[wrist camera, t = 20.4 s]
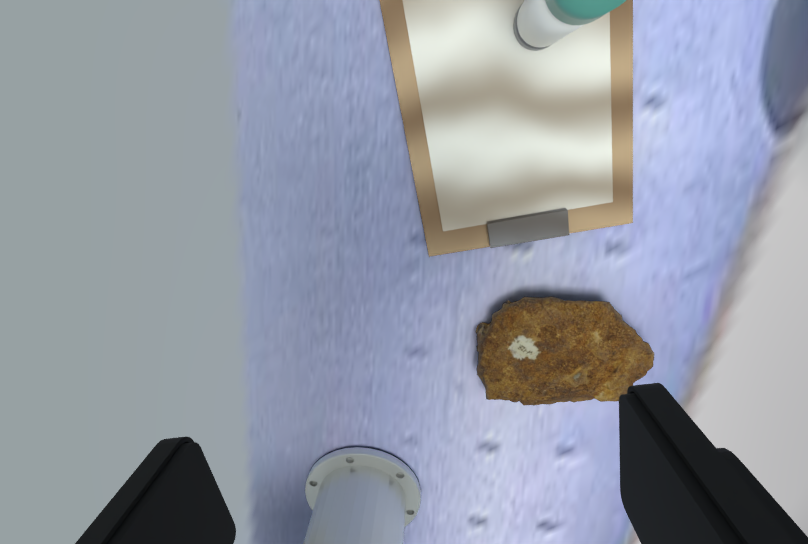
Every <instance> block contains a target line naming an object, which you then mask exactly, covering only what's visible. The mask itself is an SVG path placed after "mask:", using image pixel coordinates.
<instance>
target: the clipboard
mask: <svg viewBox="0 0 808 544" xmlns="http://www.w3.org/2000/svg"><path fill="white" fill-rule="evenodd" d="M523 2H524V0H380V5H381V10H382V16H383V21H384V26H385V31H386V36H387V42H388V47H389V52H390V57H391V62H392V67H393V73H394V78H395V83H396V88H397V93H398V98H399V104H400V109H401V114H402V119H403V124H404V130H405V135H406V140H407V145H408V150H409V155H410V161H411V166H412V171H413V176H414V181H415V186H416V192H417V197H418V202H419V207H420V212H421V218H422V223H423V228H424V233H425V238H426V243H427V249H428V254H429V257H430V256H436V255H442V254H448V253H454V252H460V251H466V250H472V249H478V248H484V247H491V248H494V247H500V246H506V245H512V244H518V243H524V242H530V241H536V240H542V239H548V238H555V237H561V236H567V235H569V233H575V232H581V231H587V230H593V229H599V228H605V227H611V226H617V225H623V224H629V223H633V0H626V1H625V2H624V3H623V4H621V5H620V6H618V7H617V8H615V9H613V10H612V11H610V12H608V13H607V14H605V15H603V16H602V17H600V18H598V19H597V20H595V21H593V22H591V23H588V24H584V25H583V26H581V27H580V28H578V29H576V30H575V31H573V32H571V33H570V34H568V35H567V36H565V37H563V38H562V39H560V40H559V41H557V42H555V43H554V44H552V45H550V46H549V47H547V48H545V49H543V50H538V51H533V50H528V49H526V48H524V47H523V46H521V45H520V44H519V42H518V41H517V39H516V37H515V34H514V29H513V24H514V18H515V15H516V13H517V10H518V9H519V7H520V6H521V5H522V3H523Z"/></svg>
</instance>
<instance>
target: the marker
mask: <svg viewBox="0 0 808 544" xmlns="http://www.w3.org/2000/svg"><path fill="white" fill-rule="evenodd" d="M625 1H626V0H524V2H523V3H522V5H521V6H520V7H519V9H518V10H517V13H516V15H515V18H514V24H513V29H514V34H515V37H516V39H517V41H518V42H519V44H520V45H521V46H523V47H524V48H526V49H528V50H533V51H538V50H543V49H545V48H547V47H549V46H550V45H552V44H554V43H555V42H557V41H559V40H560V39H562V38H563V37H565V36H567V35H568V34H570V33H571V32H573V31H575V30H576V29H578V28H580V27H581V26H583V25H584V24H588V23H591V22H593V21H595V20H597V19H598V18H600V17H602V16H603V15H605V14H607V13H608V12H610V11H612V10H613V9H615V8H617V7H618V6H620V5H621V4H623V3H624V2H625Z"/></svg>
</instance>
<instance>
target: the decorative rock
mask: <svg viewBox="0 0 808 544" xmlns="http://www.w3.org/2000/svg"><path fill="white" fill-rule="evenodd" d="M476 333H477V343H478V346H477V351H478V352H479V355H478V366H477V375H478V376H479V378H480V379H481V380H482V382H483V384H484V386H485V389H486V399H488V400H490V399H494V400H496V399H502V400H510V401H512V402H518V401H520V402H521V403H522V404H523V405H539V404H553V403H556V402H567V401H571V402H577V401H586V400H591V399H593V398H595V399H597V400H599V401H619V397H620V395H622V394H627V390H628V387H630V386H633V383H634V382H635V381H637V380H639V379H641V378H642V377H643V376H645V375H646V373H647V371H648V370H650V369H651V368H652V367H653V360H654V352H653V351H652V349H651V347H650V345H649V343H646V342H644V341H642V338H641V337H640V336H638V335H637V333H636V331H635V330H634V329H633V328H632V327H630V326H629V325H627V324H626V323H625V322H624V321H623V320H622V316H621V315H620V314H619V313H618V312H617V311H616V310H615V309H614V308H613V307H612V305H611V304H610V303H609V302H603V301H581V300H580V301H568V300H567V301H564V300H562V299H559V298H555V297H552V296H551V297H544V298H535V297H523V298H522V299H521V300H519V301H515V302H513V303H512V302H510V301H509V300H507V301H506V303H503V305H502V309H500V310H499V311H497V312H494V313H493V315H492V321H491V323H490V324H487V323H480V324H479V325H478V326H477V328H476Z"/></svg>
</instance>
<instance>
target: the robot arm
mask: <svg viewBox="0 0 808 544" xmlns="http://www.w3.org/2000/svg"><path fill="white" fill-rule="evenodd" d="M619 429H620V491H621V498H622V502H623V505H624V508H625V511H626V513H627V515H628V517H629V519H630V521H631V523H632V525H633V527H634V529H635V532H636V534H637V536H638V538H639V540H640V542H641V544H808V537H807V536H806V535H805V534H804V533H803V531H802V530H801V529H800V528H799V527H798V526H797V524H796V523H794V521H793V520H792V519H791V518H790V517H789V516H788V514H787V513H786V512H785V511H784V510H783V509H782V507H781V506H780V505H779V504H778V503H777V502H776V501H775V500H774V498H773V497H772V496H771V495H770V494H769V493H768V492H767V490H766V489H765V488H764V487H763V486H762V485H761V484H760V483H759V481H758V480H757V479H756V478H755V477H754V476H753V475H752V473H751V472H750V471H749V470H748V469H747V468H746V467H745V465H744V464H743V463H742V462H741V461H740V460H739V459H738V458H737V457H736V456H735V455H734V454H733V453H732V452H731V451H729V450H727V449H725V448H717V449H716V448H715V447H714V445H713V444H712V443H711V442H710V441H709V440H708V438H707V437H706V436H705V435H704V434H703V432H702V431H701V430H700V429H699V428H698V426H697V425H696V424H695V423H694V422H693V420H692V419H691V418H690V417H689V416H688V414H687V413H686V412H685V411H684V410H683V409H682V407H681V406H680V405H679V404H678V403H677V401H676V400H675V399H674V398H673V397H672V395H671V394H670V393H669V392H668V391H667V389H666V388H665V387H664V386H663V385H662V384H660V383H653V384H644V385H635V386H630V387H628V390H627V394H622V395H620V397H619ZM305 494H306V499H307V502H308V504H309V506H310V508H311V509H312V511H313V512H312V515H311V519H310V522H309V526H308V529H307V532H306V536H305V539H304V543H303V544H403V539H404V527H406V526H407V525H408V524H409V523H410V522H412V520H413V519H414V518H415V516H416V515H417V513H418V510H419V508H420V501H421V489H420V485H419V482H418V480H417V478H416V476H415V474H414V473H413V472H412V471H411V469H410V468H409V467H408V466H407V465H406V464H404V463H403V462H402V461H401V460H399V459H397V458H396V457H394V456H392V455H390V454H388V453H385V452H382V451H379V450H375V449H371V448H360V447H355V448H345V449H340V450H336V451H334V452H331V453H329V454H327V455H325V456H324V457H322V458H321V459H319V460H318V461H317V462H316V463H315V464H314V465H313V467H312V469H311V471H310V472H309V475H308V478H307V481H306V486H305ZM235 535H236V528H235V524H234V521H233V519H232V517H231V515H230V513H229V510H228V508H227V506H226V503H225V501H224V499H223V497H222V495H221V492H220V490H219V488H218V485H217V483H216V481H215V479H214V476H213V474H212V472H211V470H210V467H209V465H208V463H207V461H206V458H205V456H204V454H203V452H202V449H201V447H200V446H199V444H197V443H195V442H194V441H193V440H192V439H191V438H190V437H179V438H170V439H164V440H161V441H160V442H159V443H158V444H157V445H156V446H155V447H154V448H153V450H152V451H151V452H150V453H149V454H148V456H147V457H146V458H145V459H144V461H143V462H142V463H141V464H140V465H139V467H138V468H137V469H136V470H135V472H134V473H133V474H132V475H131V477H130V478H129V479H128V480H127V481H126V483H125V484H124V485H123V486H122V487H121V488H120V490H119V491H118V492H117V493H116V495H115V496H114V497H113V498H112V499H111V501H110V502H109V503H108V504H107V506H106V507H105V508H104V509H103V510H102V512H101V513H100V514H99V515H98V517H97V518H96V519H95V520H94V521H93V523H92V524H91V525H90V526H89V527H88V529H87V530H86V531H85V532H84V534H83V535H82V536H81V537H80V539H79V540H78V541H77V542H76V543H75V544H233V543H234V540H235Z"/></svg>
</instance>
